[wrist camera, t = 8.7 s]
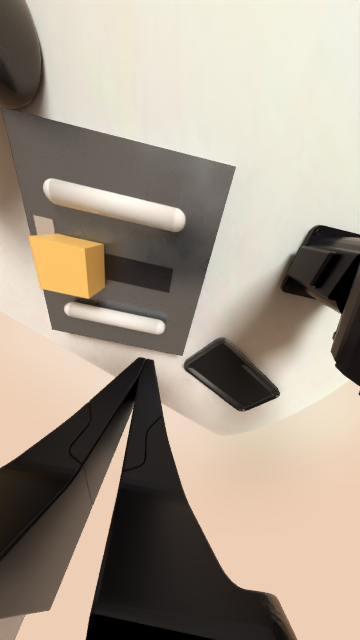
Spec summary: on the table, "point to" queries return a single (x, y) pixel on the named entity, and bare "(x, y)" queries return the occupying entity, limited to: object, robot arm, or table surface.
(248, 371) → the phone
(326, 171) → the table surface
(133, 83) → the table surface
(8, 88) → the supplement bottle
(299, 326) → the table surface
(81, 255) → the block
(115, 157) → the panel
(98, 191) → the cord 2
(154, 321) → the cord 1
